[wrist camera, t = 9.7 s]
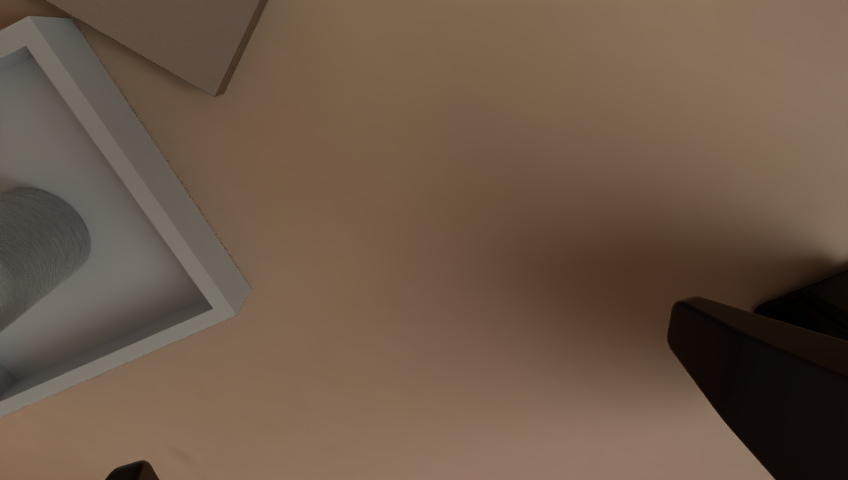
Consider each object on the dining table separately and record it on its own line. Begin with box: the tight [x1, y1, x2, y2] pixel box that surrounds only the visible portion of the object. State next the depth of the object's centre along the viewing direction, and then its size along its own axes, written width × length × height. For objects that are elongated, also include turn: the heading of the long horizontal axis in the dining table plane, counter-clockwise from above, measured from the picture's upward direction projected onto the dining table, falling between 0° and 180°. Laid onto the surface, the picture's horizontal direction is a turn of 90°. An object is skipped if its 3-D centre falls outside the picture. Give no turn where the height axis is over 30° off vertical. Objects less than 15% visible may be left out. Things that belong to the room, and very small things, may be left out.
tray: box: [0, 16, 251, 417], centre depth 18 cm, size 11×11×2 cm
